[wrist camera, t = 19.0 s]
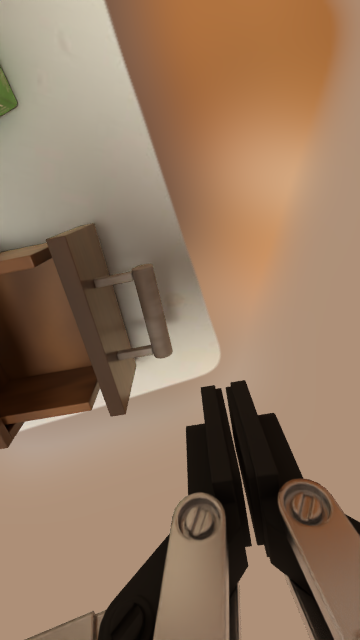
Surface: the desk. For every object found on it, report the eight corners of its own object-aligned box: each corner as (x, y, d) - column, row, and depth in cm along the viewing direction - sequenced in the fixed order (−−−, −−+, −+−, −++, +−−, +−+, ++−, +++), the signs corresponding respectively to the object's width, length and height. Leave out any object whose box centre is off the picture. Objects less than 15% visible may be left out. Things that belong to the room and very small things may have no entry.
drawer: (147, 211, 23) (136, 220, 17) (179, 358, 28) (181, 405, 22) (-54, 253, 24) (-133, 276, 18) (13, 387, 30) (-30, 439, 23)
